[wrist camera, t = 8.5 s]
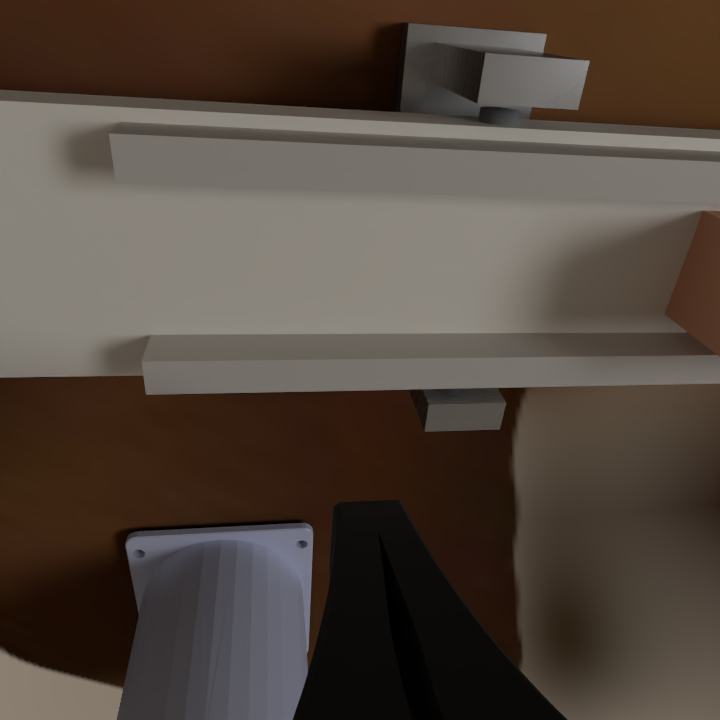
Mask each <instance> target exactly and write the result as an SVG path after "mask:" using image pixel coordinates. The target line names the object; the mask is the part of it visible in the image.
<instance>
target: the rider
mask: <svg viewBox="0 0 720 720" xmlns="http://www.w3.org/2000/svg"><path fill="white" fill-rule="evenodd" d="M665 315H666V316H668V317H669V318H670V319H671V320H673V321H674V322H675V323H677V324H678V325H679V326H681V327H682V328H683V329H684V330H686V331H687V332H688V333H690V334H691V335H692V336H693V337H695V338H696V339H697V340H699V341H700V342H701V343H702V344H704V345H705V346H706V347H708V348H709V349H710V350H712V351H713V352H714V353H715V354H717V355H718V356H719V357H720V211H705V210H703V213H702V215H701V218H700V221H699V223H698V226H697V229H696V231H695V234H694V237H693V239H692V242H691V245H690V247H689V250H688V253H687V255H686V258H685V261H684V263H683V266H682V269H681V271H680V274H679V277H678V279H677V282H676V285H675V287H674V290H673V293H672V295H671V298H670V301H669V303H668V306H667V309H666V311H665Z"/></svg>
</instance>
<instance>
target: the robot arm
mask: <svg viewBox="0 0 720 720" xmlns="http://www.w3.org/2000/svg"><path fill="white" fill-rule="evenodd" d="M299 541H302V542H299ZM125 547H126V552H127V557H128V562H129V567H130V572H131V577H132V582H133V587H134V592H135V598H136V603H137V608H138V613H139V617H138V622H137V626H136V631H135V636H134V641H133V645H132V650H131V655H130V660H129V664H128V669H127V674H126V679H125V683H124V688H123V693H122V698H121V703H120V707H119V712H118V717H117V720H567V719H566V718H565V717H564V716H563V715H562V714H561V713H560V712H559V711H558V710H557V709H556V708H555V707H554V706H553V705H552V704H551V703H550V702H549V701H548V700H547V699H546V698H545V697H544V696H543V695H542V694H541V693H540V691H538V689H537V688H536V687H535V686H534V685H533V684H532V683H531V682H530V681H529V680H528V679H527V678H526V677H525V675H524V674H523V673H522V672H521V671H520V670H519V669H518V667H517V666H516V665H515V664H514V663H513V662H512V661H511V659H510V658H509V657H508V656H507V655H506V654H505V653H504V651H503V650H502V649H501V648H500V647H499V645H498V644H497V643H496V642H495V640H494V639H493V638H492V637H491V636H490V634H489V633H488V632H487V631H486V629H485V628H484V627H483V625H482V624H481V623H480V622H479V620H478V619H477V618H476V616H475V615H474V614H473V612H472V611H471V610H470V609H469V607H468V606H467V604H466V603H465V602H464V600H463V599H462V598H461V596H460V595H459V593H458V592H457V591H456V589H455V588H454V586H453V585H452V583H451V582H450V580H449V579H448V577H447V576H446V575H445V573H444V572H443V570H442V569H441V567H440V566H439V564H438V563H437V561H436V560H435V558H434V557H433V555H432V553H431V552H430V550H429V549H428V547H427V545H426V544H425V542H424V540H423V539H422V537H421V535H420V534H419V532H418V530H417V529H416V527H415V525H414V523H413V522H412V520H411V518H410V516H409V514H408V513H407V511H406V509H405V507H404V505H403V503H401V502H400V501H399V500H384V501H361V502H340V503H338V504H337V505H336V506H334V511H333V526H332V540H331V555H330V585H329V591H328V596H327V601H326V605H325V610H324V614H323V618H322V622H321V626H320V631H319V635H318V639H317V643H316V646H315V650H314V654H313V657H312V661H311V664H310V668H309V671H308V667H307V652H308V646H309V622H310V598H311V574H312V550H313V530H312V527H311V526H310V525H309V524H307V523H289V524H270V525H251V526H232V527H212V528H193V529H174V530H155V531H137V532H133V533H131V534H129V535H128V537H127V539H126V544H125ZM138 550H142V551H138Z"/></svg>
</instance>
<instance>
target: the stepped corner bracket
mask: <svg viewBox="0 0 720 720" xmlns="http://www.w3.org/2000/svg"><path fill="white" fill-rule="evenodd" d="M546 35H547V34H539V33H528V32H515V31H503V30H491V29H478V28H466V27H454V26H441V25H429V24H416V23H404V22H403V26H402V37H401V47H400V58H399V69H398V79H397V90H396V101H395V111H394V112H404V113H422V114H440V115H458V116H475V117H479V112H480V107H502V108H509V109H514V110H518V111H520V115H519V119H529V118H530V113H531V108H532V107H539V108H556V109H573V110H578V107H579V103H580V99H581V95H582V91H583V86H584V82H585V78H586V74H587V70H588V66H589V62H590V61H588V60H582V59H576V58H570V57H565V56H559V55H553V54H547V53H543V50H544V45H545V40H546ZM409 391H410V393H411V396H412V399H413V402H414V404H415V407H416V410H417V412H418V415H419V418H420V421H421V423H422V426H423V429H424V431H425V432H426V431H461V430H495V429H500V426H501V422H502V418H503V414H504V410H505V406H506V402H505V400H504V398H503V397H502V395H501V393H500V392H499V390H498V388H457V389H409Z"/></svg>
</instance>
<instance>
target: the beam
mask: <svg viewBox="0 0 720 720" xmlns="http://www.w3.org/2000/svg"><path fill="white" fill-rule="evenodd" d="M519 115H520V111H518V110H514V109H509V108H502V107H480V112H479V117H475V116H458V115H440V114H422V113H404V112H386V111H368V110H351V109H333V108H315V107H297V106H279V105H262V104H244V103H226V102H208V101H190V100H173V99H155V98H137V97H119V96H101V95H83V94H66V93H48V92H30V91H12V90H0V378H1V377H69V376H137V375H143V376H144V383H145V390H146V395H152V394H203V393H254V392H305V391H356V390H407V389H457V388H508V387H555V386H556V387H557V386H607V385H609V386H610V385H659V384H710V383H711V384H712V383H720V357H719V356H718V355H717V354H715V353H714V352H713V351H712V350H710V349H709V348H708V347H706V346H705V345H704V344H702V343H701V342H700V341H699V340H697V339H696V338H695V337H693V336H692V335H691V334H690V333H688V332H687V331H686V330H684V329H683V328H682V327H681V326H679V325H678V324H677V323H675V322H674V321H673V320H671V319H670V318H669V317H668V316H666V315H665V311H666V309H667V306H668V303H669V301H670V298H671V295H672V293H673V290H674V287H675V285H676V282H677V279H678V277H679V274H680V271H681V269H682V266H683V263H684V261H685V258H686V255H687V253H688V250H689V247H690V245H691V242H692V239H693V237H694V234H695V231H696V229H697V226H698V223H699V221H700V218H701V215H702V213H703V210H705V211H720V130H707V129H689V128H671V127H653V126H636V125H618V124H600V123H582V122H564V121H547V120H529V119H519Z"/></svg>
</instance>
